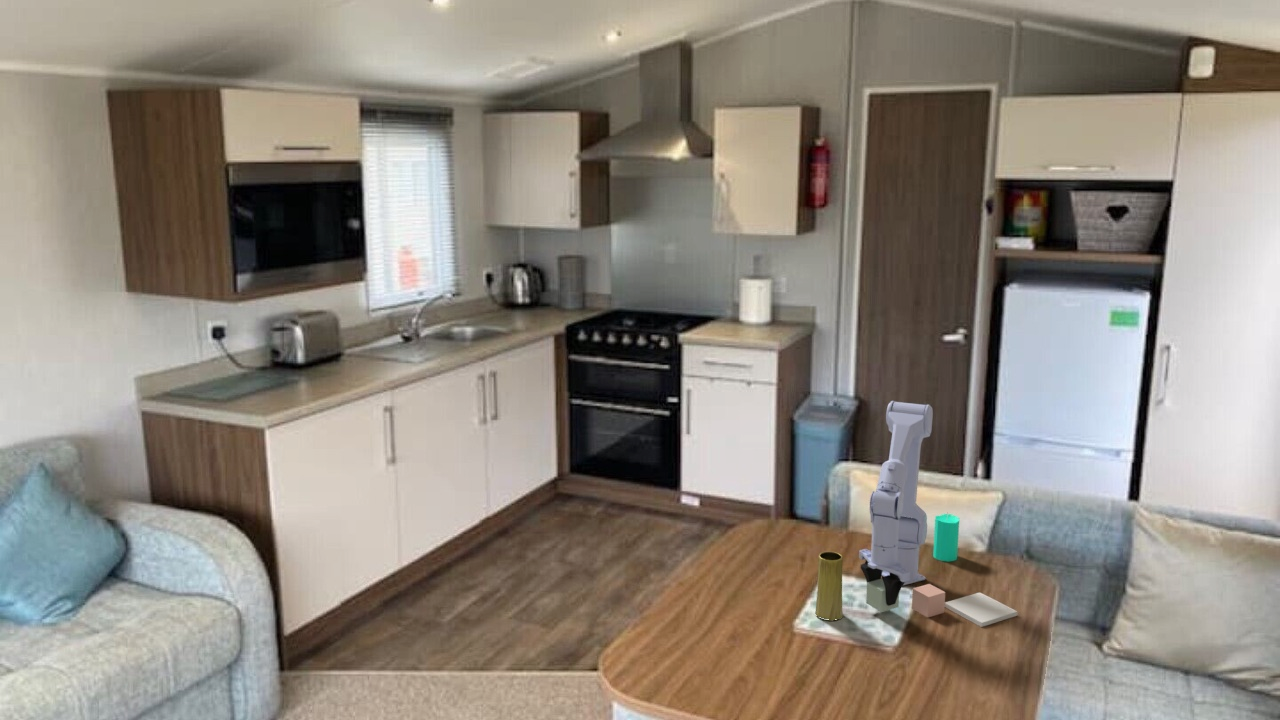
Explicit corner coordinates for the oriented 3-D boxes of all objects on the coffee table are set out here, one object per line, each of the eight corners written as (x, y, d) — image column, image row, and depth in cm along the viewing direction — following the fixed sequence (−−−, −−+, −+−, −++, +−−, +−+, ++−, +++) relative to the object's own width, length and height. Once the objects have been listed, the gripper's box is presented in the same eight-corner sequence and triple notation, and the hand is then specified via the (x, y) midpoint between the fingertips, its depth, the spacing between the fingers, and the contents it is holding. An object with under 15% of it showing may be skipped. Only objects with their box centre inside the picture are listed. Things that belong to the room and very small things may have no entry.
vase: (811, 618, 215) (813, 558, 212) (819, 606, 220) (821, 548, 217) (838, 623, 212) (840, 563, 209) (846, 612, 218) (848, 553, 215)
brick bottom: (866, 603, 218) (866, 582, 217) (883, 598, 220) (884, 577, 219) (881, 612, 213) (882, 591, 212) (898, 607, 216) (899, 586, 214)
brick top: (911, 608, 219) (912, 588, 218) (928, 603, 221) (929, 583, 220) (927, 617, 215) (928, 597, 214) (944, 612, 217) (945, 592, 216)
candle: (954, 552, 249) (957, 508, 247) (959, 561, 243) (962, 517, 241) (930, 551, 250) (933, 508, 247) (935, 561, 244) (937, 516, 241)
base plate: (944, 606, 219) (944, 602, 219) (979, 596, 224) (979, 592, 224) (981, 627, 210) (981, 622, 210) (1017, 615, 215) (1017, 611, 215)
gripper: (849, 534, 218) (847, 590, 221) (893, 558, 205) (890, 616, 208) (873, 529, 221) (871, 583, 224) (918, 551, 208) (915, 609, 211)
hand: (882, 599), depth 216 cm, fingers closed on brick bottom, 5 cm apart
